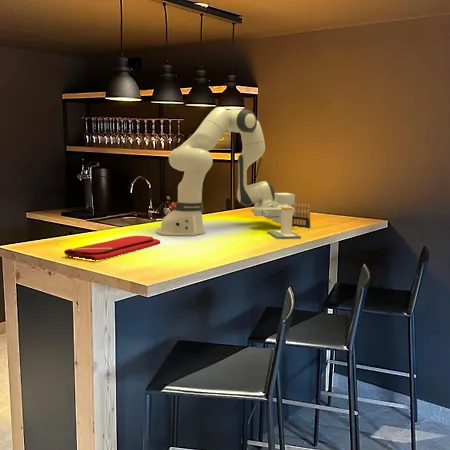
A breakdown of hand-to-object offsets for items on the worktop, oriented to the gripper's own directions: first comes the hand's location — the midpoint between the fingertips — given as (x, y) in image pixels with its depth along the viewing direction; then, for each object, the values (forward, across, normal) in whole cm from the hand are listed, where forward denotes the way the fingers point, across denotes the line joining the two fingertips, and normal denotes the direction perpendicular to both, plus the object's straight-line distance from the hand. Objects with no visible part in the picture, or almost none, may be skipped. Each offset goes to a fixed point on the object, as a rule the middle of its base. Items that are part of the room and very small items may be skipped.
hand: (278, 213), depth 272 cm
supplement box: (-30, +12, +9) cm, 34 cm away
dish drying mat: (+34, -78, +9) cm, 85 cm away
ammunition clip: (-12, +16, +9) cm, 21 cm away
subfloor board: (+12, -1, +8) cm, 14 cm away
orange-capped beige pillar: (+12, 0, +7) cm, 14 cm away
